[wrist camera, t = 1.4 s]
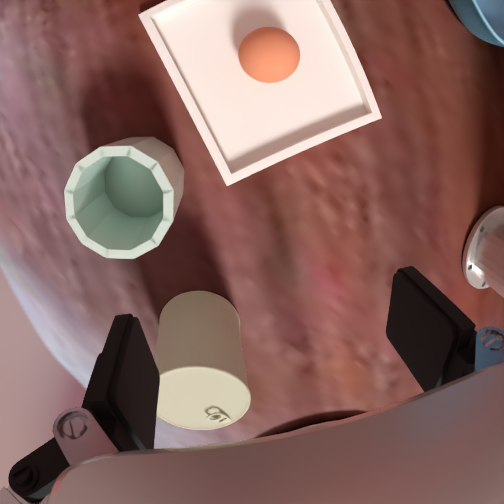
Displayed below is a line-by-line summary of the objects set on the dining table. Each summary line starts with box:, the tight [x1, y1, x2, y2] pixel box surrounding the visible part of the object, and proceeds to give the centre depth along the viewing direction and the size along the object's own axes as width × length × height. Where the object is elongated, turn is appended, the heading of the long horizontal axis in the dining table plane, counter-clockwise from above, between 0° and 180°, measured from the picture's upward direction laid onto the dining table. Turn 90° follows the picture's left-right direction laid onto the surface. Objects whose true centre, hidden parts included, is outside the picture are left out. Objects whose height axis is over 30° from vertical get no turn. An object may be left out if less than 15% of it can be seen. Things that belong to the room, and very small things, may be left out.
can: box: [154, 291, 251, 430], centre depth 31 cm, size 9×9×12 cm
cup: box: [64, 137, 184, 259], centre depth 25 cm, size 8×8×8 cm
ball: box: [238, 27, 300, 83], centre depth 23 cm, size 5×5×5 cm
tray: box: [139, 0, 382, 186], centre depth 25 cm, size 16×18×2 cm
